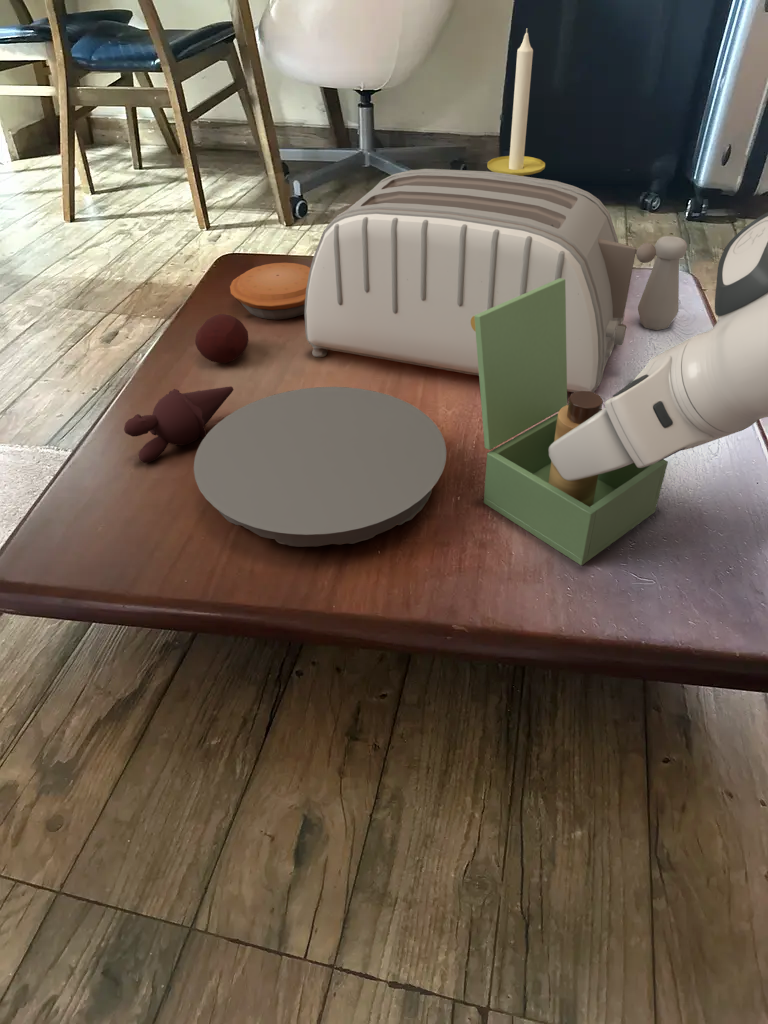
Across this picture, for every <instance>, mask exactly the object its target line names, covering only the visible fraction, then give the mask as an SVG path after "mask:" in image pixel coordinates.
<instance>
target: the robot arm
mask: <svg viewBox="0 0 768 1024" xmlns="http://www.w3.org/2000/svg"><path fill="white" fill-rule="evenodd" d="M715 284H716V285H715V293H714V294H715V295H714V314H715V315H716V317H717V321H716V323H715V325H714V326H713V327H712V328H711V329H709V330H706V331H703V332H699V333H698V334H695V335H694V336H692V337H690V338H687V339H686V340H684V341H682V342H680V343H678V344H676V345H674V346H672V347H669V348H668V349H666V350H664V351H661V352H660V353H659V354H657V355H654V356H653V357H652V358H651V359H650V360H649V361H648V362H647V364H646V365H645V367H644V368H643V369H642V370H641V371H639V372H638V374H637V375H636V376H635V378H634V379H633V380H632V381H631V382H629V383H628V384H627V385H626V386H624V387H623V388H622V389H620V390H619V391H617V392H616V393H615V394H613V395H612V397H609V398H608V399H607V400H605V401H604V408H601V409H602V410H601V411H599V412H598V413H597V414H595V415H594V416H592V417H591V418H589V419H588V420H586V421H585V422H583V423H582V424H580V425H578V426H577V427H575V428H574V429H572V430H571V431H569V432H568V433H566V434H565V435H563V436H562V437H560V438H559V439H557V440H556V441H555V442H553V443H552V444H551V445H550V446H549V449H548V450H549V457H550V459H551V461H552V463H553V465H554V466H555V467H556V469H557V470H558V472H559V474H560V475H561V476H562V478H563V479H565V480H567V481H574V480H579V479H583V478H587V477H591V476H595V475H599V474H602V473H606V472H609V471H613V470H616V469H619V468H622V467H625V466H627V465H630V464H632V463H635V465H636V466H637V467H638V468H643V467H646V466H649V465H652V464H654V463H656V462H659V461H661V460H663V459H664V460H666V459H667V458H669V457H671V456H672V455H674V454H677V453H680V452H681V451H685V450H690V449H694V448H697V447H700V446H702V445H705V444H707V443H711V442H714V441H716V440H718V439H722V438H725V437H728V436H730V435H734V434H736V433H739V432H741V431H744V430H746V429H749V428H750V427H751V426H753V425H754V424H755V423H757V422H758V421H759V420H762V419H765V418H768V211H767V212H765V213H764V214H762V215H760V216H759V217H757V218H756V219H753V221H751V222H750V223H749V224H747V225H746V226H745V227H744V228H743V227H742V229H741V230H739V232H738V233H736V235H734V236H733V237H732V238H731V239H730V241H729V242H728V243H727V244H726V246H725V247H724V249H723V251H722V253H721V256H720V259H719V262H718V266H717V274H716V283H715Z"/></svg>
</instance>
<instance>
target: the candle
mask: <svg viewBox="0 0 768 1024" xmlns="http://www.w3.org/2000/svg"><path fill="white" fill-rule="evenodd" d="M533 57H534V49H533V47H532V46H531V43H530V37H529V32H528V28H526V29H525V33H524V35H523V39H522V43H521V44H520V46H519V47H518V48H517V52H516V65H515V78H514V91H513V105H512V116H511V117H512V119H511V131H510V143H509V146H510V147H509V155H505V156H498V157H493V158H492V159H489V161H487V166H486V167H487V169H488V170H489V171H490V172H496V173H503V174H511V175H518V176H531V175H534V174H539V173H541V172H542V171H543V170H545V168H546V162H545V161H543V160H542V159H540V158H536V157H532V156H525V151H526V138H527V137H526V136H527V127H528V125H527V124H528V115H529V103H530V90H531V81H532V68H533V66H532V65H533Z"/></svg>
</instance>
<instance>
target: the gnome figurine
mask: <svg viewBox="0 0 768 1024" xmlns="http://www.w3.org/2000/svg"><path fill="white" fill-rule="evenodd" d="M233 391H234V387H232V386H222V387H217V388H209V389H203V390H196V391H189V392H184V393H183V392H182V393H181V392H180V390H178V389H177V388H173V389H172V390H169V391H168V393H167V394H165V395H163V396H162V397H161V398H159V399H158V401H157V403H156V404H155V406H154V408H153V412H152V414H145V415H141V414H140V413H138V414H135V415H134V416H133V417H131V418H129V419H128V420H127V421H126V422H125V424H124V427H123V431H124V433H125V434H126V435H128V436H131V437H139V436H142V435H146V434H148V433H149V432H150V433H151V435H153V436H156V437H154V438H152V439H151V440H149V441H147V442H146V443H145V444H144V445H143V447H141V448H140V450H139V451H138V452H139V453H138V460H139V461H140V462H142V463H143V464H146V463H151V462H153V461H155V460H157V459H158V458H159V457H160V456H161V455H162V454H163V453H164V452H165V450H166V449H167V447H168V446H169V444H171V445H174V446H175V445H176V446H187V445H190V444H191V443H194V442H195V441H197V440H198V439H204V438H205V436H206V435H207V432H206V428H205V426H206V425H207V424H208V423H209V422H210V420H211V419H212V418H213V416H214V415H215V414H216V413H217V411H218V410H219V409H220V408H221V406H222V405H223V404H224V403H225V401H226V400H227V399H228V397H230V395H231V394H232V393H233Z"/></svg>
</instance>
